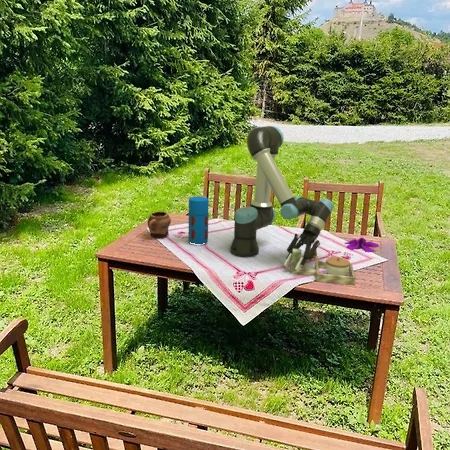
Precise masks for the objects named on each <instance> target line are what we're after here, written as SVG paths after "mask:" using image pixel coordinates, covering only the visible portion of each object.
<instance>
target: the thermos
mask: <svg viewBox="0 0 450 450" xmlns="http://www.w3.org/2000/svg"><path fill="white" fill-rule="evenodd" d="M209 204H210V203H209V198H208V197H205V196H191V197H189V198H188V242H189V241H190V242H191V243H195V244H203V243H207V242H209V212H210V211H209V206H210V205H209ZM207 244H208V243H207Z"/></svg>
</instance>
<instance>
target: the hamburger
mask: <svg viewBox="0 0 450 450" xmlns="http://www.w3.org/2000/svg"><path fill="white" fill-rule="evenodd" d="M311 248H312V247H311ZM311 248H310V250H311ZM309 252H310V251H309ZM303 256H304V253H303V254H302V257H303ZM317 257H318V258H317ZM320 258H321V257H320V255H319V254H318V250H317V249H316V251H315V253H314V255H313V257H312V259H311V260H310V261H318V260H319V259H320Z"/></svg>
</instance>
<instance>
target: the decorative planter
mask: <svg viewBox="0 0 450 450" xmlns="http://www.w3.org/2000/svg"><path fill="white" fill-rule="evenodd" d="M171 223H172V218H171V217H170V215H169V213H168V212H167V211H154V212H151V213H150V215H149V218H148V220H147V226H148V230H149V233H150V236H151V237H152V238H153V237H154V239H164V238H163V237H165V238H167V237H168V236H169V228H170V225H171ZM167 235H168V236H167ZM166 236H167V237H166Z"/></svg>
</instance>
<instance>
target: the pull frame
mask: <svg viewBox="0 0 450 450" xmlns="http://www.w3.org/2000/svg"><path fill="white" fill-rule="evenodd" d="M301 257H302V249H301V248H299V249H293V253H292V260H291V266H290V268H289V274H292V273H293V274H295V275H305V276H306V275H307V276H315V281H316V282H319V283H329V284H340V285H349V286H350V285H351V286H355V285H356V274H355V271H354V268H353V264H352V263H351V262H350V265H349V270H348V273H349V276H347V275H345V276H339V275H329V274H328V273H326V274H325V273H320V269H323V270H326V260H315V264H314V268H305V267H304V268H303V267H301V268H300V270H299V272H297V271H296V269H295V268H296V266H297V264H298V262H299V261H300V259H301Z"/></svg>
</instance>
